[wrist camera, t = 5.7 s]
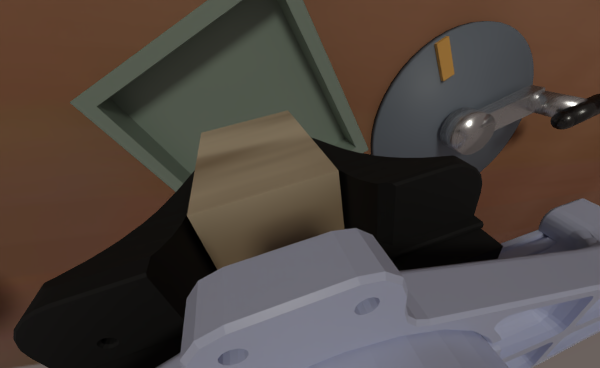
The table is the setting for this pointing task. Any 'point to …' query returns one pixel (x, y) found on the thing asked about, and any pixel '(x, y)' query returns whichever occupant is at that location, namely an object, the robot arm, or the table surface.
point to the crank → (513, 116)
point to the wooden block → (261, 189)
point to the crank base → (452, 91)
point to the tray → (220, 84)
